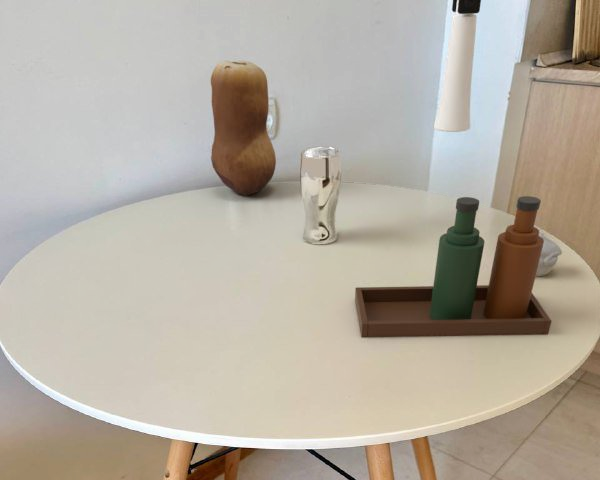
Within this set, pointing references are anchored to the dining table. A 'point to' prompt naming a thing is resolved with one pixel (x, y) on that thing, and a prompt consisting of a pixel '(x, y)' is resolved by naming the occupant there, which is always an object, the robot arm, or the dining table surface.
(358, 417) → the dining table surface
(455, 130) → the cosmetic bottle
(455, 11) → the robot arm
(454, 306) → the green bottle
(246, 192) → the butternut squash
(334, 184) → the beer glass
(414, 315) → the tray
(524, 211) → the amber bottle
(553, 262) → the frog figurine
